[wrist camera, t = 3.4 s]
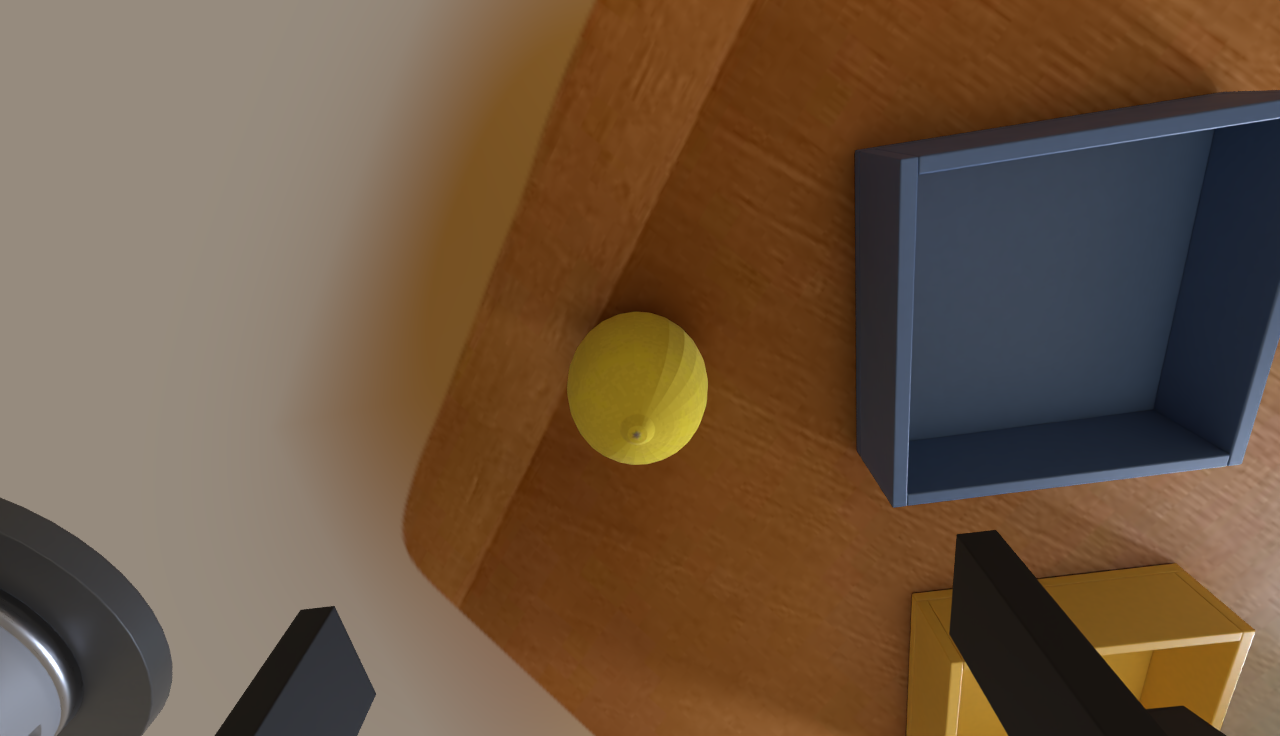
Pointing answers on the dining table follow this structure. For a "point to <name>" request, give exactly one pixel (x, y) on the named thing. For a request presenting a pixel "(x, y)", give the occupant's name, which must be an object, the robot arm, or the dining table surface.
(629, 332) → the lemon
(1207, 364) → the blue bin
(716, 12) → the dining table surface
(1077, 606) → the yellow bin
